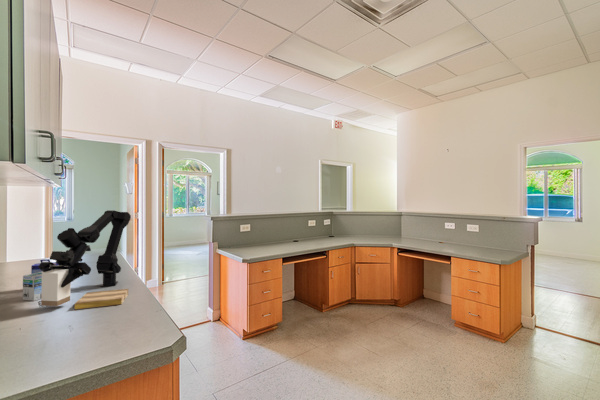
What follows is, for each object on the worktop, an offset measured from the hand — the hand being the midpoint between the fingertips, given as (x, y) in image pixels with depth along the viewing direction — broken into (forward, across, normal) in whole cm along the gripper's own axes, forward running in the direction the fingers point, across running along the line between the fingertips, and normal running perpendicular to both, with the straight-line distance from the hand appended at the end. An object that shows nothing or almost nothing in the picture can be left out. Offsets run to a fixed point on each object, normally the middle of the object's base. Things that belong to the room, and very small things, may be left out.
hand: (52, 286), depth 113 cm
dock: (0, +14, +13) cm, 19 cm away
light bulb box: (-4, -18, +17) cm, 25 cm away
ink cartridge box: (-12, -28, +26) cm, 40 cm away
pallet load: (+4, 0, +6) cm, 7 cm away
